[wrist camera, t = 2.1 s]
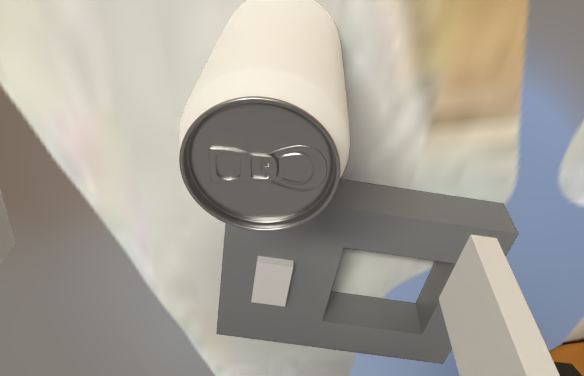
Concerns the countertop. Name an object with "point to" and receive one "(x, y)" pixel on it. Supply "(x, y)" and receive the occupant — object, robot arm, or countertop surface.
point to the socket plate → (324, 262)
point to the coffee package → (570, 355)
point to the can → (268, 118)
